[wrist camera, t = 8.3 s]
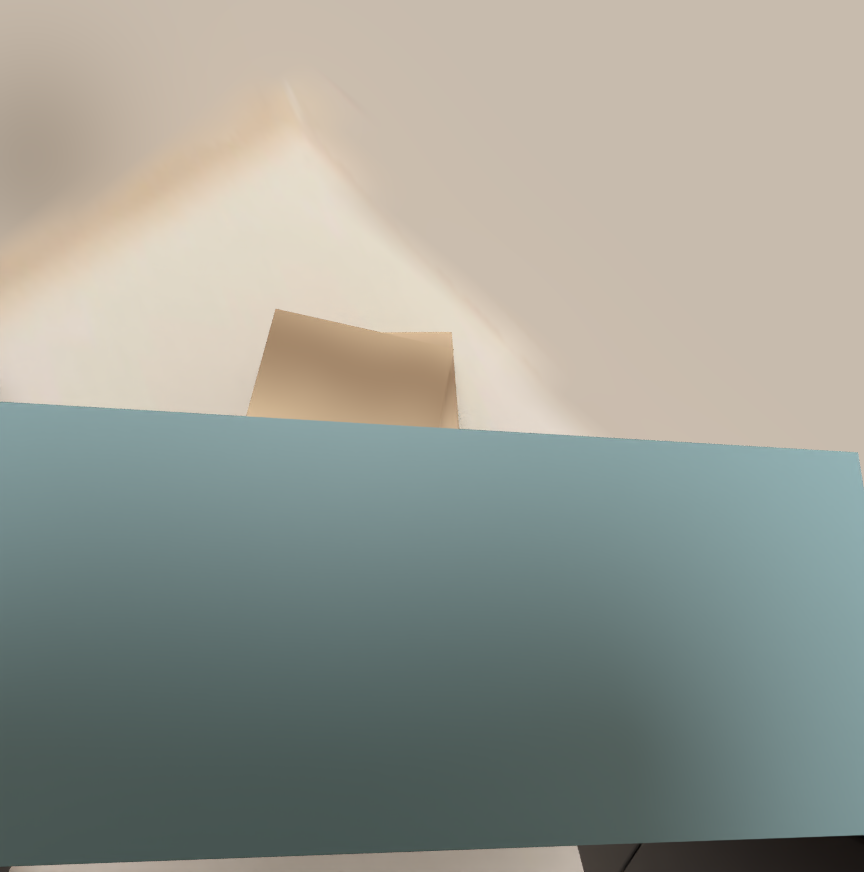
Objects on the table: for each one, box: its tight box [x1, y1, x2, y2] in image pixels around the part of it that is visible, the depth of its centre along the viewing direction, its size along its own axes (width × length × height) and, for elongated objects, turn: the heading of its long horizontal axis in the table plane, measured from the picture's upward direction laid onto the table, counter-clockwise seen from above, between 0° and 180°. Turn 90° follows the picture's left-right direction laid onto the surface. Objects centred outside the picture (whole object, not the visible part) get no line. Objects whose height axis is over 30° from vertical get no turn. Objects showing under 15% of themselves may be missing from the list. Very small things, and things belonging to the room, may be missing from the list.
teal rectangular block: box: [0, 402, 864, 867], centre depth 9 cm, size 2×6×14 cm, turn 89°
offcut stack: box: [246, 309, 459, 429], centre depth 21 cm, size 5×7×6 cm
